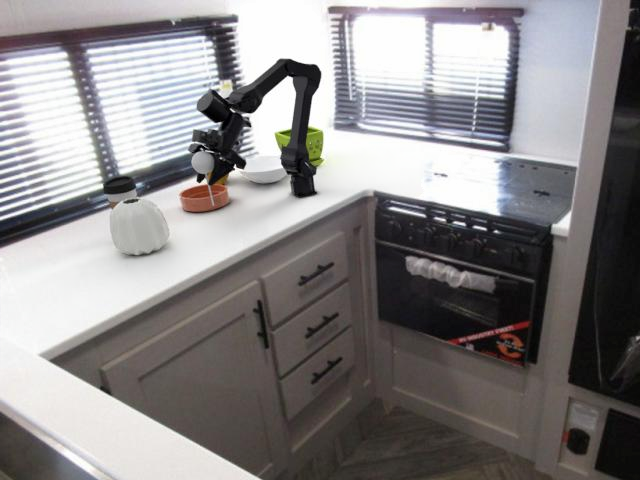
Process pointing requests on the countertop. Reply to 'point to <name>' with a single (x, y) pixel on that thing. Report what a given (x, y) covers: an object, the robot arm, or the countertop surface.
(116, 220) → the vase
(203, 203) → the terracotta plant saucer
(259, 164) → the bowl
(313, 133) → the flower pot
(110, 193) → the coffee cup
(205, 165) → the lollipop
